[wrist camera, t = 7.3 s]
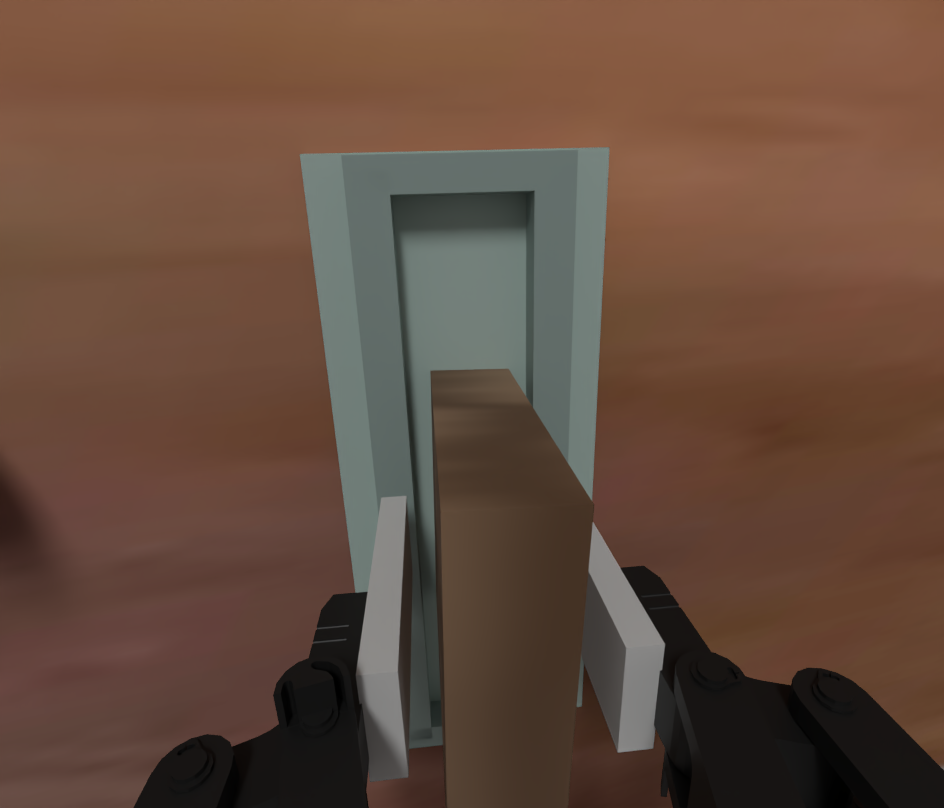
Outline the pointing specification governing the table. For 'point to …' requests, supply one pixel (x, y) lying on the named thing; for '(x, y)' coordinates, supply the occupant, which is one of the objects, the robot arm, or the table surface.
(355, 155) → the track base
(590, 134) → the table surface
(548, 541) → the slider block
